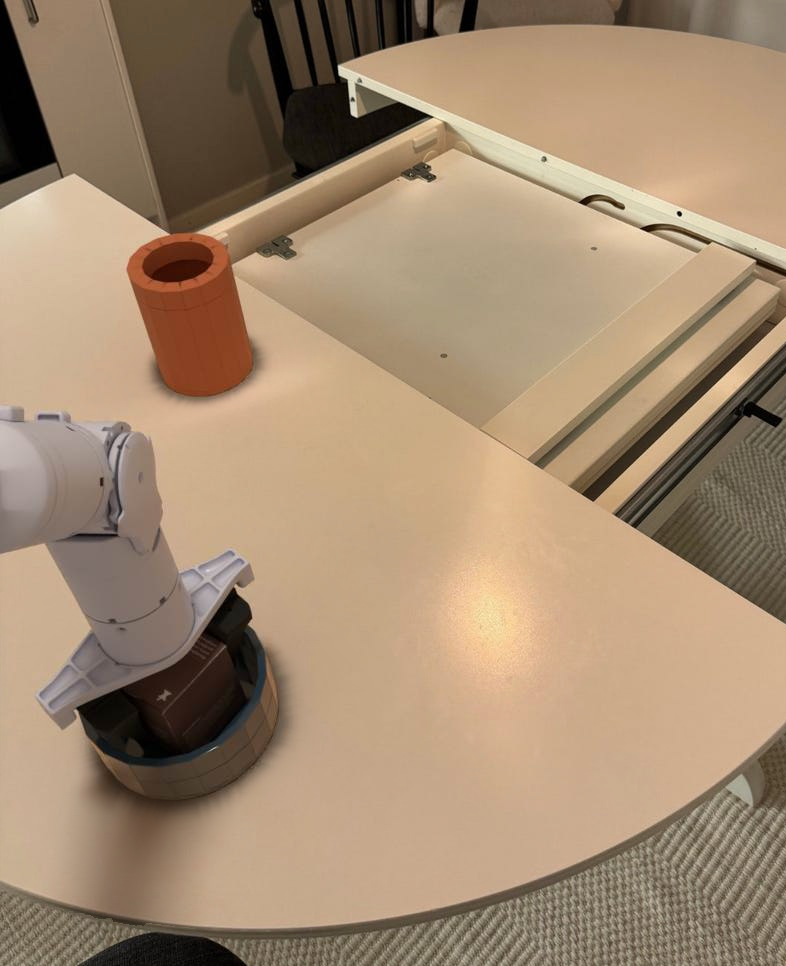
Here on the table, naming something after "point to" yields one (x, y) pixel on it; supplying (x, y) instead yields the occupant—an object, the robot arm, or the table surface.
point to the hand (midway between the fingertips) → (182, 699)
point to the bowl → (212, 762)
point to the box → (188, 697)
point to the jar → (192, 312)
